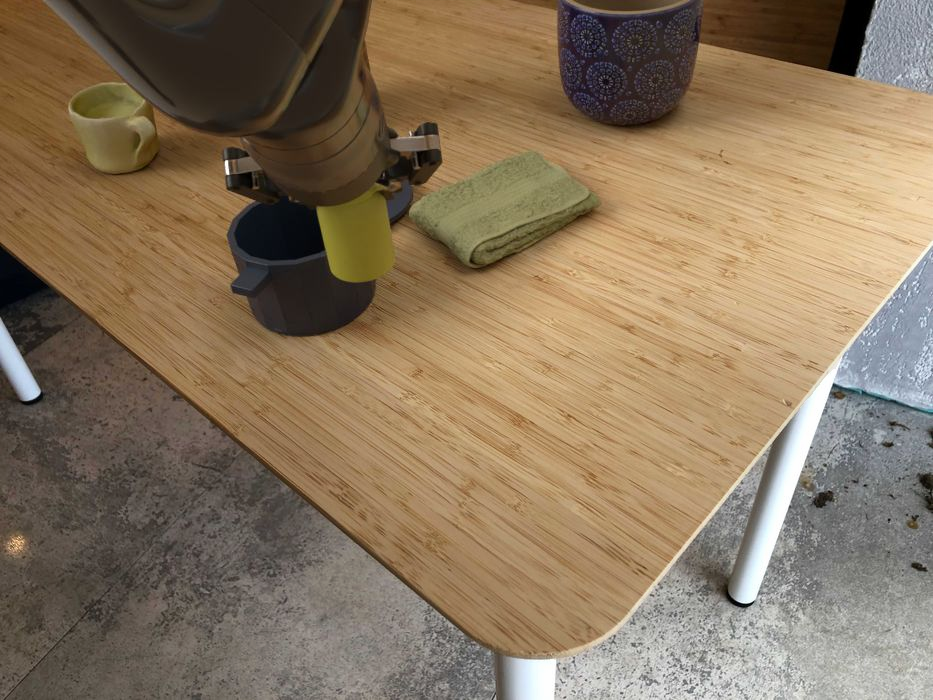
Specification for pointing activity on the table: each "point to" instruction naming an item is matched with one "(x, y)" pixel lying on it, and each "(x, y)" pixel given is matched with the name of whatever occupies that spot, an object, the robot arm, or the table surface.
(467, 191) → the washcloth
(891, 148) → the table surface
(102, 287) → the table surface
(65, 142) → the table surface
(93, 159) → the mug
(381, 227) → the pear
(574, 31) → the planter
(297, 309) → the pot
